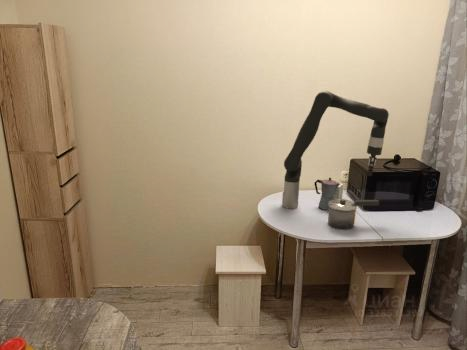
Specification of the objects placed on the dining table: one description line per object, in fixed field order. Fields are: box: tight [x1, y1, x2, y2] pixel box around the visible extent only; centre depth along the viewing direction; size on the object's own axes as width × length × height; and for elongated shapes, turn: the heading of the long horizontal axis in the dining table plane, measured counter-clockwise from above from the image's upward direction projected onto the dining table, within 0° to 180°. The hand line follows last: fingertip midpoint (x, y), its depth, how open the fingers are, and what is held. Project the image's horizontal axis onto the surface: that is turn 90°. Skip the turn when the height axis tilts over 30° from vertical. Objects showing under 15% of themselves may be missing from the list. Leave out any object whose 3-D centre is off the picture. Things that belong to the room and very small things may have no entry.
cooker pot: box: [327, 207, 357, 231], centre depth 210 cm, size 14×14×11 cm
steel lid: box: [328, 198, 380, 211], centre depth 208 cm, size 28×15×3 cm, turn 92°
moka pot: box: [314, 177, 340, 211], centre depth 232 cm, size 10×15×20 cm, turn 78°
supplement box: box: [333, 182, 344, 199], centre depth 242 cm, size 7×7×13 cm
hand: (369, 174), depth 208 cm, fingers open, 8 cm apart
